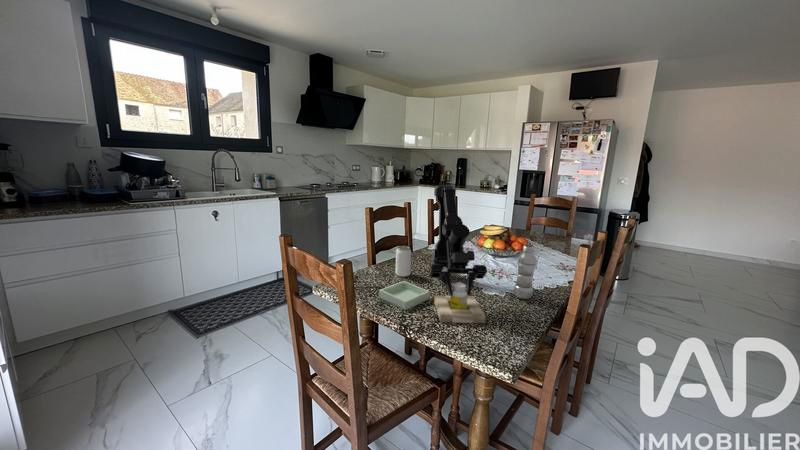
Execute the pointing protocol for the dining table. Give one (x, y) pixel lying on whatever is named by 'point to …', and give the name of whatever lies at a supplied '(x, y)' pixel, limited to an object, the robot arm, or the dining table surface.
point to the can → (403, 261)
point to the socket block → (459, 311)
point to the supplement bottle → (459, 296)
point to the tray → (404, 295)
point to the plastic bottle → (525, 273)
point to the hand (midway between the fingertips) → (460, 295)
